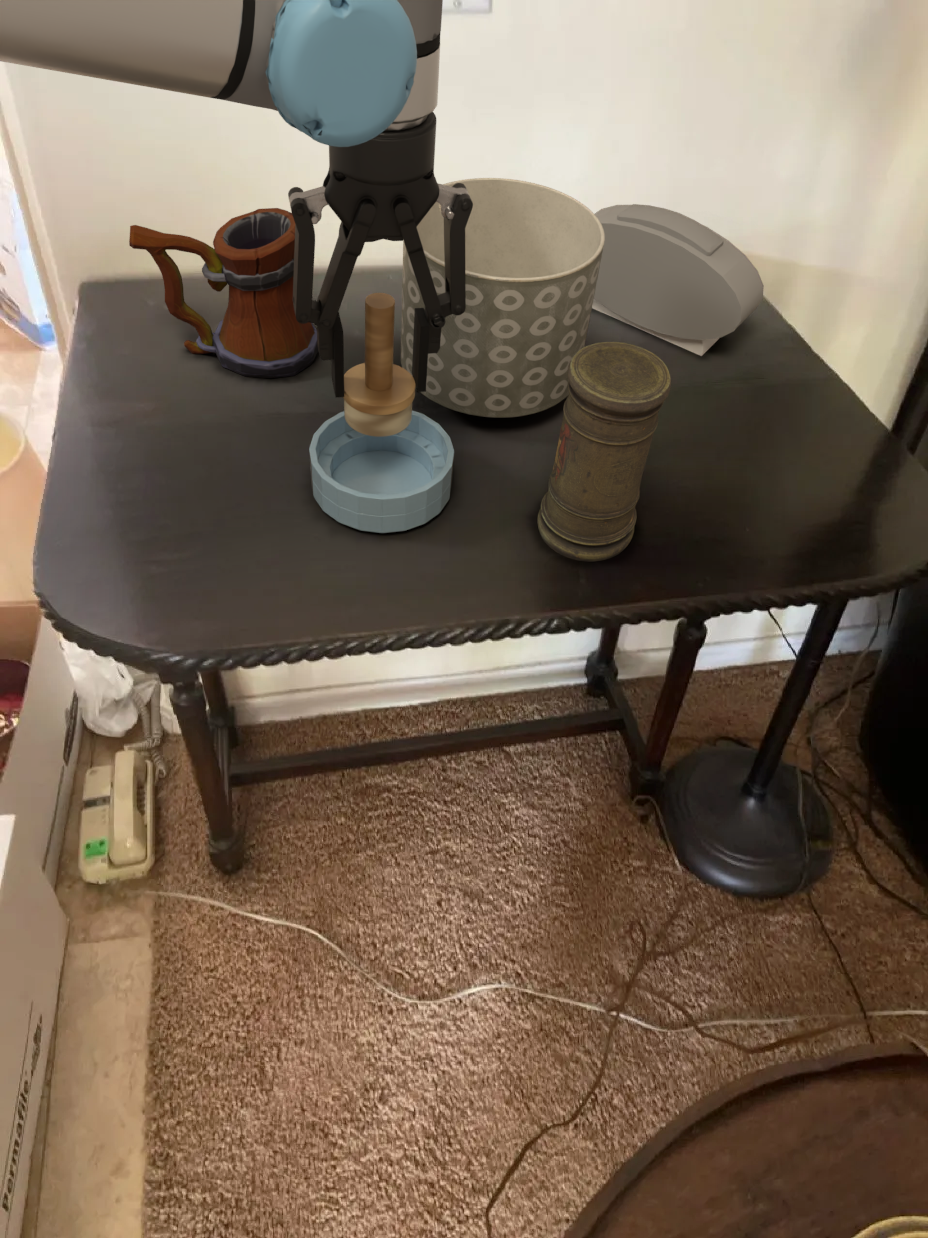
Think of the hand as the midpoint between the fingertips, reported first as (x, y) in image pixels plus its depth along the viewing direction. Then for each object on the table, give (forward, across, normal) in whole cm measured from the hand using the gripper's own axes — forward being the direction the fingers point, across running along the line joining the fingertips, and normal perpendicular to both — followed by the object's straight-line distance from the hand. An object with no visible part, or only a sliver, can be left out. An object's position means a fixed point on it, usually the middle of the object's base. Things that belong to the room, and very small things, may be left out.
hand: (378, 384), depth 84 cm
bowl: (+12, 0, 0) cm, 12 cm away
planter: (+12, -14, -14) cm, 24 cm away
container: (+12, -18, +8) cm, 24 cm away
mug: (+12, +12, -24) cm, 29 cm away
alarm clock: (+12, -36, -24) cm, 45 cm away
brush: (+3, 0, 0) cm, 3 cm away
